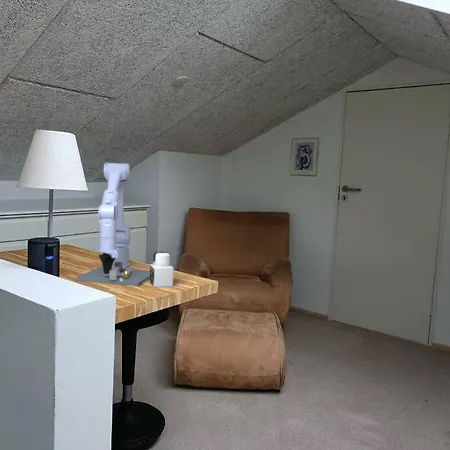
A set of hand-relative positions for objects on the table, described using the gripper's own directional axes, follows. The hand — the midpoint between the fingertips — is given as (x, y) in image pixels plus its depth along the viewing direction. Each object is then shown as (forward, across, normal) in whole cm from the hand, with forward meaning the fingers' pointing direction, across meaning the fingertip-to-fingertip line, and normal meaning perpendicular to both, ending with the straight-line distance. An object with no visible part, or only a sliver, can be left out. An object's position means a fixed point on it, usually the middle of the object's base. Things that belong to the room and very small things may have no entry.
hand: (107, 273), depth 165 cm
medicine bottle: (+3, -12, -16) cm, 20 cm away
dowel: (+2, -3, -6) cm, 7 cm away
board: (+3, +5, -6) cm, 8 cm away
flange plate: (+1, +2, -5) cm, 5 cm away
